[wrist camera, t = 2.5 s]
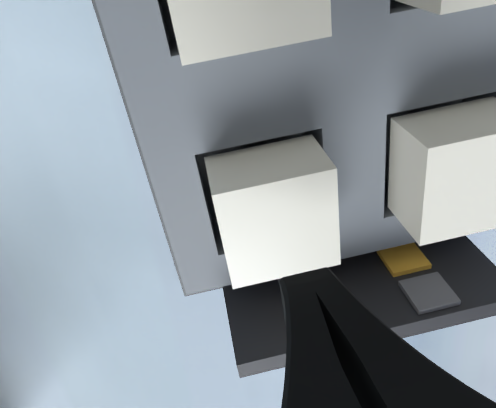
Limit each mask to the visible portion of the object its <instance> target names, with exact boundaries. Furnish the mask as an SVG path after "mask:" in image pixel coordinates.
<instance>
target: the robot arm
mask: <svg viewBox="0 0 496 408" xmlns="http://www.w3.org/2000/svg"><path fill="white" fill-rule="evenodd" d="M279 284H280V291H281V298H282V305H283V312H284V319H285V326H286V335H287V347H286V366H285V380H284V390H283V399H282V407H281V408H496V403H495V402H494V401H492V400H490V399H488V398H487V397H485V396H483V395H482V394H480V393H478V392H477V391H475V390H473V389H472V388H470V387H469V386H467V385H465V384H464V383H462V382H461V381H459V380H458V379H456V378H455V377H453V376H452V375H450V374H449V373H447V372H446V371H444V370H443V369H442V368H440V367H439V366H437V365H436V364H435V363H433V362H432V361H430V360H429V359H428V358H426V357H425V356H424V355H422V354H421V353H420V352H418V351H417V350H416V349H415V348H413V347H412V346H411V345H409V344H408V343H407V342H406V341H405V340H403V339H402V338H401V337H400V336H398V335H397V334H396V333H395V332H394V331H392V330H391V329H390V328H389V327H388V326H387V325H385V324H384V323H383V322H382V321H381V320H380V319H379V318H378V317H377V316H376V315H374V314H373V313H372V312H371V311H370V310H369V309H368V308H367V307H366V306H365V305H364V304H363V303H362V302H361V301H360V300H359V299H358V298H357V297H356V296H355V295H354V294H353V293H352V292H351V291H350V290H349V289H348V288H347V287H346V286H345V285H344V284H343V283H342V282H341V281H340V280H339V279H338V278H337V277H336V275H335V274H334V273H333V272H332V271H331V270H330V269H329V268H327V267H324V268H320V269H316V270H312V271H307V272H303V273H299V274H294V275H290V276H286V277H282V279H281V280H280V281H279Z"/></svg>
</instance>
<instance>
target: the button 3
mask: <svg viewBox="0 0 496 408" xmlns="http://www.w3.org/2000/svg"><path fill="white" fill-rule="evenodd" d="M395 1H398V2H401V3H404V4H407V5H410V6H413V7H416V8H420V9H423V10H426V11H429V12H432V13H435V14H438V15H443V14H448V13H453V12H458V11H463V10H468V9H473V8H479V7H484V6H489V5H494V4H496V0H395Z"/></svg>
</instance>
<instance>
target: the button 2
mask: <svg viewBox="0 0 496 408" xmlns="http://www.w3.org/2000/svg"><path fill="white" fill-rule="evenodd" d="M204 160H205V165H206V170H207V175H208V180H209V185H210V190H211V195H212V200H213V204H214V209H215V213H216V217H217V222H218V226H219V231H220V235H221V239H222V244H223V248H224V253H225V257H226V261H227V266H228V270H229V275H230V279H231V283H232V288H233V289H236V288H241V287H245V286H249V285H254V284H258V283H262V282H267V281H271V280H275V279H280V278H282V277H286V276H290V275H294V274H299V273H303V272H307V271H312V270H316V269H320V268H324V267H331V266H336V265H340V264H341V256H340V230H339V204H338V179H337V168H336V166H335V165H334V164H333V162H332V161H331V159H330V158H329V157H328V155H327V154H326V153H325V151H324V150H323V149H322V147H321V146H320V145H319V143H318V142H317V140H316V139H315V138H314V136H313V135H312V134H311V135H306V136H302V137H297V138H292V139H288V140H283V141H278V142H273V143H269V144H264V145H259V146H254V147H250V148H245V149H240V150H235V151H231V152H226V153H221V154H216V155H212V156H207V157H204Z"/></svg>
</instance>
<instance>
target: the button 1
mask: <svg viewBox="0 0 496 408" xmlns="http://www.w3.org/2000/svg"><path fill="white" fill-rule="evenodd" d="M167 2H168V6H169V11H170V15H171V20H172V24H173V28H174V33H175V37H176V42H177V46H178V50H179V55H180V59H181V64H182V66H184V65H189V64H194V63H199V62H204V61H209V60H214V59H219V58H224V57H229V56H235V55H240V54H245V53H250V52H255V51H260V50H265V49H270V48H275V47H280V46H285V45H290V44H296V43H301V42H306V41H311V40H316V39H321V38H326V37H331V36H332V24H331V0H167Z"/></svg>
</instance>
